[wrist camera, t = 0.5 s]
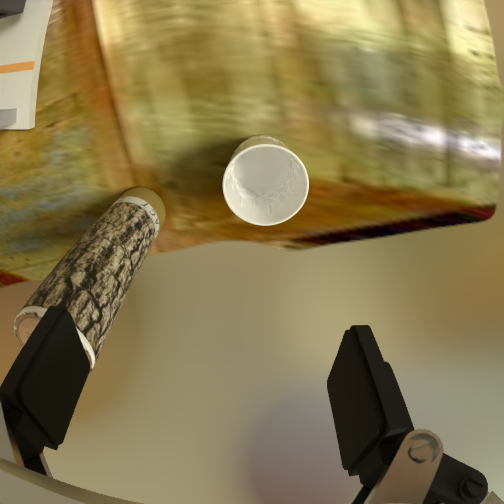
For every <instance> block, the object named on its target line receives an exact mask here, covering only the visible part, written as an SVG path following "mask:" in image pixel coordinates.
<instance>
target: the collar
mask: <svg viewBox="0 0 504 504" xmlns="http://www.w3.org/2000/svg"><path fill="white" fill-rule="evenodd" d="M25 3H26V0H0V19H1V18H5V17H8V16H12V15H16V14H20V13H23V11H24V7H25Z"/></svg>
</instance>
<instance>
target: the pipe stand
mask: <svg viewBox="0 0 504 504" xmlns="http://www.w3.org/2000/svg"><path fill="white" fill-rule="evenodd" d="M53 1H54V0H26V3H25V7H24V11H23V13H20V14H16V15H12V16H8V17H5V18H1V19H0V66H2V65H8V64H15V63H22V62H29V61H35V63H34V69H32V70H23V71H15V72H8V73H1V74H0V129H31V128H34V127H35V110H36V97H37V87H38V78H39V71H40V63H41V57H42V51H43V45H44V40H45V35H46V30H47V25H48V21H49V16H50V12H51V8H52V4H53Z"/></svg>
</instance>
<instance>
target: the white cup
mask: <svg viewBox="0 0 504 504" xmlns="http://www.w3.org/2000/svg"><path fill="white" fill-rule="evenodd" d="M308 188H309V180H308V175H307V171H306V169H305V167H304V165H303V163H302V162H301V160H300V159H299V158H298V157H297V156H296V155H295V154H294V153H293V152H292V151H291V150H290V149H289V148H288V147H287V146H286V145H284V144H283V143H282V142H280V141H278V140H277V139H276V138H273V137H270V136H267V135H258V136H251V137H249V138H248V139H246V140H245V141H244V142H242V143H241V144H240V145H239V147H238V148H237V149H236V150H235V152H234V154H233V155H232V157H231V159H230V161H229V164H228V166H227V168H226V170H225V173H224V177H223V194H224V197H225V200H226V202H227V204H228V206H229V207H230V209H231V210H232V211H233V212H234V213H235V214H236V215H237V216H238V217H240V218H241V219H243V220H245V221H247V222H249V223H252V224H256V225H274V224H278V223H281V222H284V221H286V220H288V219H289V218H291V217H292V216H294V215H295V214H296V213H297V212H298V211H299V210H300V208H301V207H302V205H303V204H304V202H305V200H306V197H307V194H308Z"/></svg>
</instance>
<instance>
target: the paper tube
mask: <svg viewBox="0 0 504 504" xmlns="http://www.w3.org/2000/svg"><path fill="white" fill-rule="evenodd" d="M165 215H166V211H165V206H164V203H163V201H162V200H161V198H160V197H159V196H158V195H157V194H156V193H155V192H153V191H152V190H150V189H147V188H143V187H136V188H132V189H130V190H128V191H126V192H125V193H124V194H123V195H122V196H121V197H120V198H119V199H118V200H117V201H115V202H114V203H113V204H112V205H111V206H110V207H109V208H108V209H107V210H106V211H105V212H104V213H103V214H102V215H101V217H100V218H99V219H98V220H97V221H96V222H95V223H94V224H93V225H92V226H91V227H90V228H89V229H88V230H87V231H86V232H85V233H84V235H83V236H82V237H81V238H80V239H79V240H78V241H77V242H76V243H75V244H74V246H73V247H72V248H71V249H70V250H69V251H68V252H67V254H66V255H65V256H64V257H63V258H62V259H61V260H60V262H59V263H58V264H57V265H56V266H55V268H54V269H53V270H52V271H51V272H50V274H49V275H48V276H47V277H46V278H45V280H44V281H43V282H42V283H41V285H40V286H39V287H38V288H37V290H36V291H35V292H34V294H33V295H32V296H31V297H30V299H29V300H28V301H27V303H26V304H25V305H24V307H23V308H22V309H21V311H20V312H19V314H18V316H17V317H16V319H15V322H14V329H15V334H16V336H17V339H18V341H19V343H20V344H21V346H22V347H23V346H24V345H25V343H26V342H27V340H28V338H29V337H30V335H31V334H32V332H33V330H34V329H35V327H36V326H37V324H38V323H39V321H40V320H41V318H42V317H43V315H44V314H45V312H46V311H47V309H48V308H49V307H50V306H51V305H53V306H60V307H65V308H66V309H67V310H68V312H70V313H71V315H72V317H73V320H74V323H75V326H76V329H77V331H78V334H79V337H80V339H81V342H82V344H83V347H84V349H85V352H86V354H87V357H88V359H89V361H90V372H89V374H90V373H91V371H92V369H93V367H94V365H95V363H96V360H97V358H98V356H99V353H100V351H101V349H102V346H103V344H104V342H105V339H106V337H107V335H108V333H109V331H110V328H111V326H112V324H113V322H114V320H115V318H116V315H117V313H118V311H119V309H120V307H121V305H122V302H123V300H124V299H125V297H126V294H127V292H128V290H129V288H130V286H131V284H132V282H133V280H134V278H135V276H136V274H137V272H138V270H139V268H140V267H141V265H142V263H143V261H144V259H145V257H146V255H147V253H148V251H149V249H150V247H151V246H152V244H153V242H154V240H155V238H156V236H157V234H158V232H159V230H160V229H161V227H162V225H163V223H164V220H165ZM89 374H88V375H89Z"/></svg>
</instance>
